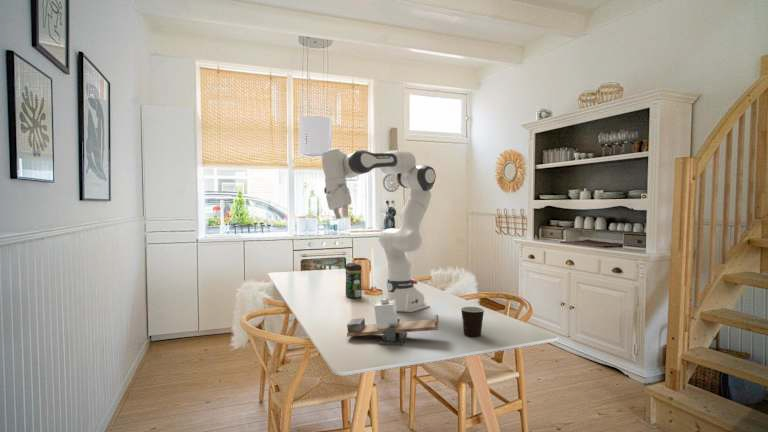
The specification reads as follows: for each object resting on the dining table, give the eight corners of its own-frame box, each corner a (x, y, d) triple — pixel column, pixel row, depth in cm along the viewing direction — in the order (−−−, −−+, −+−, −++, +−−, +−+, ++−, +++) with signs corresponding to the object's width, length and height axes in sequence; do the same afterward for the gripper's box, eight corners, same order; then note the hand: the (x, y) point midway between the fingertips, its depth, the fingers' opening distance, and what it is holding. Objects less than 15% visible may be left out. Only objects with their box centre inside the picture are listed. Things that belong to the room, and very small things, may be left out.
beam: (347, 336, 157) (345, 325, 157) (353, 328, 166) (352, 318, 166) (437, 329, 151) (436, 318, 151) (438, 322, 161) (437, 311, 161)
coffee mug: (479, 339, 157) (479, 313, 157) (457, 335, 162) (457, 310, 161) (489, 331, 167) (489, 307, 167) (468, 328, 171) (468, 304, 171)
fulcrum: (379, 344, 152) (379, 329, 151) (386, 331, 167) (386, 317, 167) (401, 345, 150) (401, 330, 150) (406, 332, 166) (406, 318, 166)
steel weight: (377, 329, 156) (373, 302, 156) (380, 324, 163) (377, 298, 163) (395, 328, 155) (392, 300, 155) (398, 323, 162) (394, 296, 162)
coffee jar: (343, 295, 233) (343, 262, 232) (356, 294, 236) (356, 261, 236) (350, 299, 224) (350, 264, 224) (363, 297, 228) (363, 263, 227)
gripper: (351, 181, 171) (357, 214, 171) (336, 189, 190) (341, 219, 189) (337, 183, 168) (343, 216, 168) (322, 190, 187) (328, 221, 186)
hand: (342, 218), depth 179 cm, fingers open, 8 cm apart
